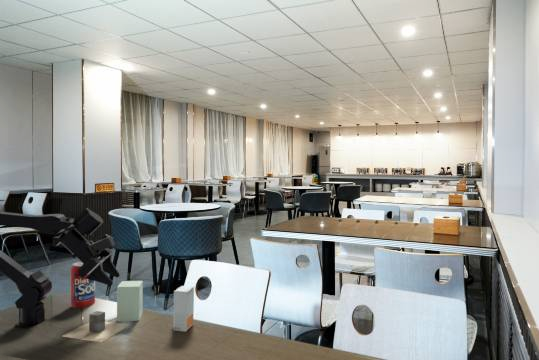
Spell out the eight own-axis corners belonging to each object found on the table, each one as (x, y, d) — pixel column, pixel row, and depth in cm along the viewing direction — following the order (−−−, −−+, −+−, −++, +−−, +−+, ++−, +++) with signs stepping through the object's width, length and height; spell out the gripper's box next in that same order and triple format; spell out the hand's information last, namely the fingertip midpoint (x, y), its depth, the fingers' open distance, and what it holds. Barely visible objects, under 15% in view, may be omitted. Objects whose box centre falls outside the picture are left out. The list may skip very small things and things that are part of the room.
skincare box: (186, 332, 120) (186, 292, 120) (172, 330, 121) (173, 291, 121) (194, 324, 126) (194, 286, 126) (181, 323, 127) (181, 285, 127)
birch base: (61, 339, 114) (61, 318, 113) (93, 323, 126) (93, 303, 126) (101, 345, 110) (101, 324, 110) (130, 328, 123) (130, 308, 122)
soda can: (80, 301, 146) (80, 260, 146) (99, 303, 144) (99, 261, 144) (65, 309, 138) (65, 265, 138) (85, 310, 137) (85, 266, 136)
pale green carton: (116, 322, 125) (117, 287, 125) (121, 314, 132) (121, 281, 131) (139, 321, 126) (139, 286, 126) (142, 314, 133) (142, 280, 132)
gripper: (89, 232, 118) (128, 269, 119) (105, 223, 136) (139, 255, 138) (60, 259, 117) (100, 296, 119) (80, 247, 135) (115, 279, 137)
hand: (115, 280), depth 128 cm, fingers open, 9 cm apart
